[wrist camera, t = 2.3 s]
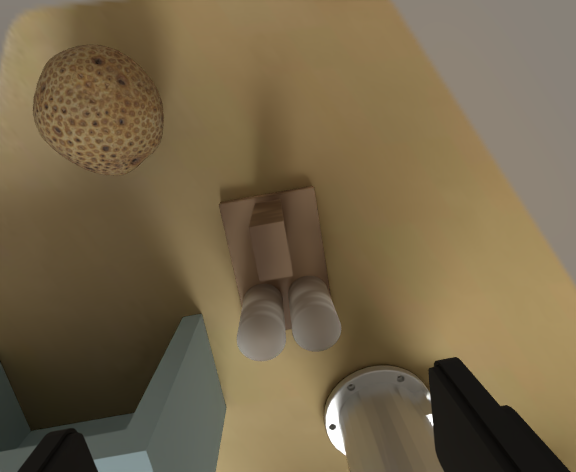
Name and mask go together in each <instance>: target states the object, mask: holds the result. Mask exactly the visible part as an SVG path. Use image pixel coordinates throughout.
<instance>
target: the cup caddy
mask: <svg viewBox="0 0 576 472" xmlns="http://www.w3.org/2000/svg"><path fill="white" fill-rule="evenodd" d="M219 207H220V212H221V216H222V221H223V225H224V229H225V234H226V238H227V243H228V247H229V252H230V256H231V260H232V265H233V269H234V274H235V278H236V283H237V287H238V291H239V296H240V300H241V305H242V311H241V317H240V322H239V328H238V334H237V345H238V347H239V350H240V351H241V352H242V353H243V354H244V355H245V356H246V357H248V358H249V359H252V360H255V361H267V360H271V359H273V358H275V357H276V356H278V355H279V354H280V353H281V352H282V350H283V349H284V346H285V343H286V333H285V330H288V329H292V332H293V337H294V339H295V341H296V342H297V344H298V345H299V346H300V347H302V348H304V349H306V350H308V351H323V350H326V349H328V348H330V347H331V346H333V345H334V344H335V343H336V342H337V340H338V339H339V337H340V334H341V323H340V320H339V318H338V315H337V313H336V310H335V307H334V305H333V302H332V299H331V295H330V289H329V282H328V275H327V269H326V262H325V256H324V249H323V242H322V236H321V229H320V223H319V216H318V209H317V203H316V196H315V190H314V187H313V186H309V187H303V188H298V189H292V190H286V191H281V192H275V193H269V194H264V195H258V196H253V197H247V198H241V199H236V200H230V201H224V202H221V203H220V204H219Z"/></svg>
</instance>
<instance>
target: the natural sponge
mask: <svg viewBox="0 0 576 472" xmlns="http://www.w3.org/2000/svg"><path fill="white" fill-rule="evenodd" d="M33 115H34V120H35V123H36V126H37V128H38V130H39V132H40V134H41V136H42V138H43V139H44V140H45V141H46V142H47V143H48V144H49V145H50V146H51V147H52V148H53V149H54V150H56V151H57V152H58V153H59V154H60V155H62V156H63V157H65V158H66V159H68V160H70V161H71V162H73V163H75V164H77V165H78V166H80V167H82V168H84V169H86V170H89V171H92V172H95V173H100V174H105V175H123V174H126V173H128V172H130V171H132V170H134V169H135V168H136V167H137V166H139V165H140V164H141V163H142V162H143V161H144V160H145V159H146V158H147V157H148V156H149V155H150V154H151V153H153V152H154V151H155V149H156V148H157V147H158V145H159V143H160V141H161V138H162V134H163V119H164V116H163V106H162V101H161V98H160V96H159V93H158V91H157V89H156V87H155V85H154V83H153V81H152V80H151V79H150V78H149V76H148V75H147V74H146V73H145V72H144V70H143V69H142V68H141V67H140V66H139V65H138V64H136V63H135V62H134V61H133V60H132V59H130V58H129V57H128V56H126V55H124V54H123V53H121V52H119V51H117V50H115V49H112V48H109V47H105V46H101V45H84V46H77V47H73V48H70V49H67V50H65V51H62V52H60V53H58V54H57V55H55V56H54V57H52V58H51V59H50V60H49V61H48V62H47V63H46V65H45V67H44V69H43V71H42V73H41V76H40V78H39V81H38V83H37V87H36V92H35V95H34V104H33Z"/></svg>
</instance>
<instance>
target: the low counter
mask: <svg viewBox="0 0 576 472" xmlns="http://www.w3.org/2000/svg"><path fill="white" fill-rule="evenodd" d="M225 413H226V405H225V401H224V397H223V393H222V389H221V386H220V382H219V378H218V374H217V370H216V366H215V363H214V359H213V355H212V351H211V347H210V343H209V339H208V336H207V332H206V328H205V324H204V320H203V316H202V314H197V315H191V316H186V317H183V318H182V320H181V322H180V324H179V326H178V328H177V330H176V332H175V334H174V336H173V338H172V340H171V342H170V344H169V346H168V348H167V350H166V352H165V354H164V355H163V357H162V359H161V361H160V363H159V365H158V367H157V369H156V371H155V373H154V375H153V377H152V379H151V381H150V383H149V385H148V387H147V389H146V391H145V393H144V395H143V397H142V399H141V401H140V403H139V405H138V407H137V409H136V411H135V413H130V414H124V415H119V416H113V417H107V418H102V419H96V420H91V421H85V422H79V423H74V424H68V425H62V426H57V427H51V428H45V429H40V430H34V431H31V430H30V427H29V425H28V423H27V421H26V418H25V416H24V414H23V412H22V409H21V407H20V405H19V403H18V400H17V398H16V396H15V394H14V391H13V389H12V387H11V385H10V382H9V380H8V378H7V376H6V373H5V371H4V369H3V367H2V364H1V362H0V472H17V471H18V470H19V469H20V467H21V466H22V465H23V463H24V462H25V461H26V459H27V458H28V457H29V456H30V454H31V453H32V452H33V450H34V449H35V448H36V446H37V445H38V444H39V443H40V441H41V440H42V439H43V437H44V436H45V435H46V434H47V433H49V432H52V431H57V430H62V429H68V428H74V429H76V430H77V432H78V433H82V434H83V436H84V438H85V441H86V443H87V446H88V448H89V450H90V453H91V455H92V458H93V460H94V463H95V465H96V468H97V470H98V472H216V466H217V460H218V454H219V448H220V442H221V436H222V431H223V425H224V419H225Z"/></svg>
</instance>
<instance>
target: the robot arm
mask: <svg viewBox="0 0 576 472" xmlns="http://www.w3.org/2000/svg"><path fill="white" fill-rule="evenodd" d="M429 384H430V392H429V390H428V389H427V387H426V386H425V384H424V383H423V381H421V380H420V379H419V378H418V377H417V376H416V375H414V374H413V373H411V372H409V371H408V370H405V369H402V368H400V367H395V366H389V365H382V366H372V367H367V368H364V369H361V370H358V371H356V372H354V373H352V374H350V375H349V376H347V377H346V378H344V379H343V380H342V381H341V382H339V384H338V385H337V386H336V387H335V388H334V389H333V390H332V392H331V394H330V396H329V397H328V399H327V402H326V405H325V410H324V421H325V427H326V431H327V435H328V437H329V439H330V441H331V442H332V443H333V445H334V446H335V447H336V448H337V449H338V450H339V451H340V452H342V453H343V454H345V455H346V457H347V462H348V466H349V470H350V472H570V471H569V470H568V468H567V467H566V466H565V465H564V464H563V463H562V462H561V461H560V460H559V459H558V457H557V456H556V455H555V454H554V453H553V452H552V451H551V450H550V449H549V447H548V446H547V445H546V444H545V443H544V442H543V441H542V440H541V439H540V438H539V436H538V435H537V434H536V433H535V432H534V431H533V430H532V429H531V428H530V426H529V425H528V424H527V423H526V422H525V421H524V420H523V419H522V418H521V417H520V415H519V414H518V413H517V412H516V411H515V410H514V409H513V408H511V407H509V406H507V405H505V406H500V405H499V404H498V403H497V402H496V401H495V399H494V398H493V397H492V396H491V395H490V394H489V392H488V391H487V390H486V389H485V388H484V387H483V386H482V384H481V383H480V382H479V381H478V380H477V379H476V377H475V376H474V375H473V374H472V373H471V372H470V370H469V369H468V368H467V367H466V366H465V365H464V364H463V362H462V361H461V360H460V359H459V358H457V357H454V358H448V359H443V360H438V361H435V363H434V367H432V368H429ZM17 472H98V470H97V468H96V465H95V463H94V460H93V458H92V455H91V453H90V450H89V448H88V446H87V443H86V441H85V438H84V436H83V434H82V433H78V432H77V430H76V429H74V428H68V429H62V430H57V431H52V432H49V433H47V434H46V435H45V436H44V437H43V439H42V440H41V441H40V443H39V444H38V445H37V446H36V448H35V449H34V450H33V452H32V453H31V454H30V456H29V457H28V458H27V459H26V461H25V462H24V463H23V465H22V466H21V467H20V469H19V470H18V471H17Z"/></svg>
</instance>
